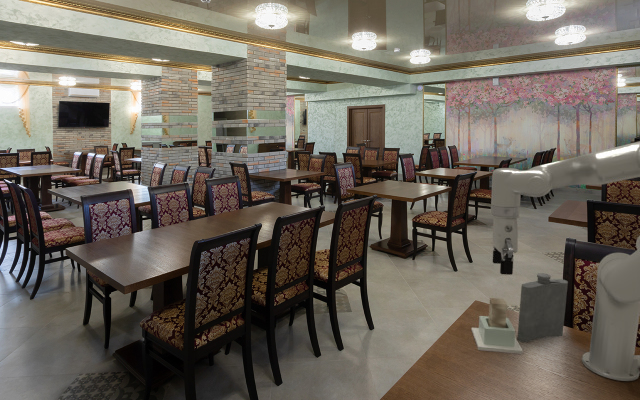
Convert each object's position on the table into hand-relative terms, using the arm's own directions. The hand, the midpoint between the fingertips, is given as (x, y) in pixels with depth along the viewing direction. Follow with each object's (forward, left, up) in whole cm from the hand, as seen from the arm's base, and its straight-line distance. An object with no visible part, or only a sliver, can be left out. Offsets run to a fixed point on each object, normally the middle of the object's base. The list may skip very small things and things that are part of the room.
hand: (502, 268), depth 119 cm
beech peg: (0, 0, -22) cm, 22 cm away
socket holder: (0, 0, -23) cm, 23 cm away
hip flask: (-14, -6, -24) cm, 28 cm away
